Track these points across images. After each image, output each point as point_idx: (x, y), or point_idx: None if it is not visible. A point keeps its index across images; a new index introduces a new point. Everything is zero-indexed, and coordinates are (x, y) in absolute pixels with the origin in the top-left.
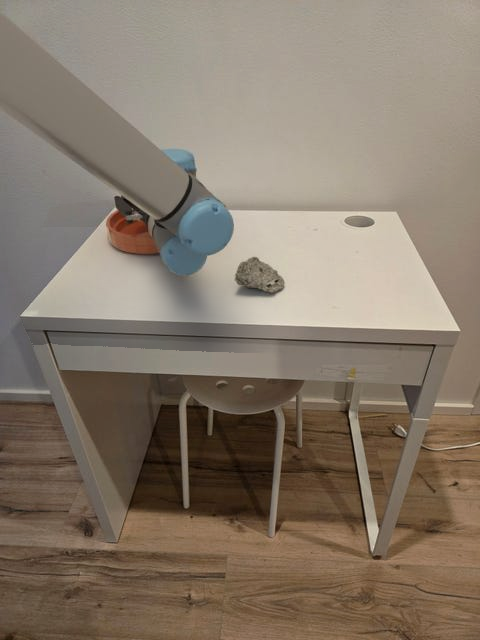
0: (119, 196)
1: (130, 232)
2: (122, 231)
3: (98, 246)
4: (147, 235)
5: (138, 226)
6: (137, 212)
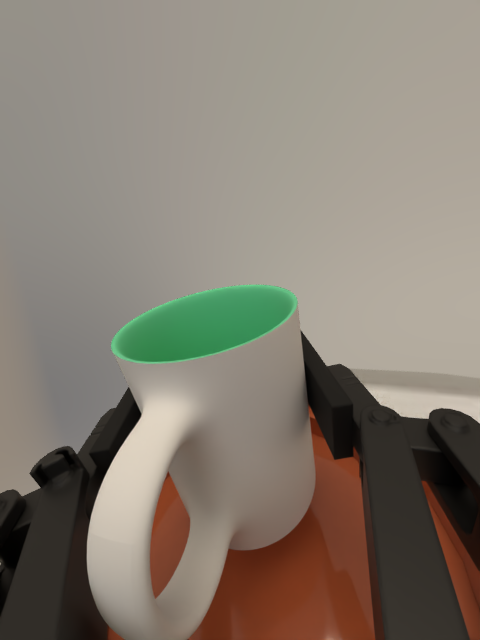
0: (11, 504)
1: (184, 506)
2: (165, 491)
3: None
4: (232, 558)
5: None
6: (181, 498)
